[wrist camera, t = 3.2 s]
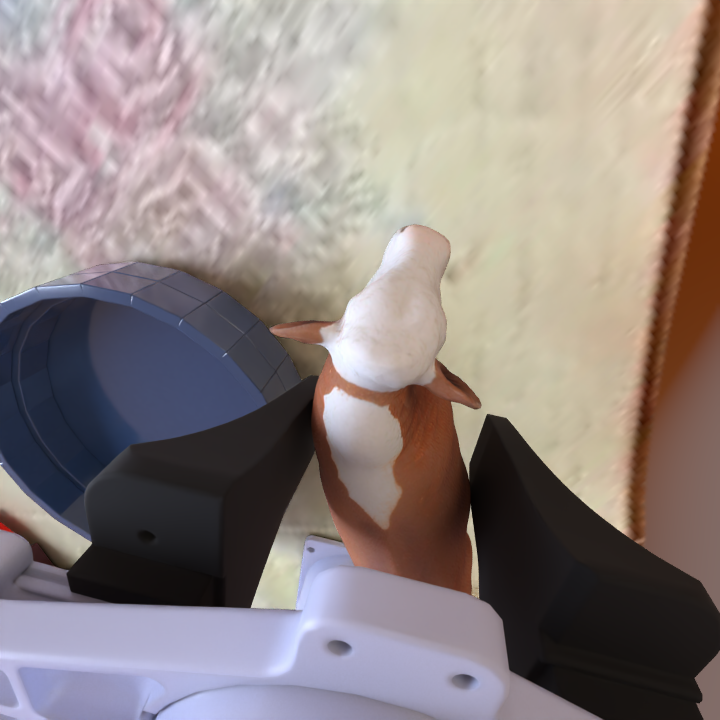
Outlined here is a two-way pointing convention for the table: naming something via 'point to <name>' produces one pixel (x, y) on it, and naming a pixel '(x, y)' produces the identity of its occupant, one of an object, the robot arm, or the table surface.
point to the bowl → (122, 373)
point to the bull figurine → (394, 420)
